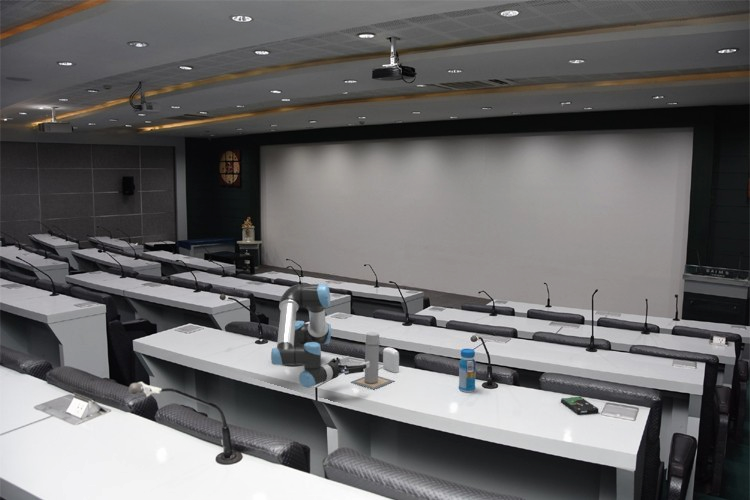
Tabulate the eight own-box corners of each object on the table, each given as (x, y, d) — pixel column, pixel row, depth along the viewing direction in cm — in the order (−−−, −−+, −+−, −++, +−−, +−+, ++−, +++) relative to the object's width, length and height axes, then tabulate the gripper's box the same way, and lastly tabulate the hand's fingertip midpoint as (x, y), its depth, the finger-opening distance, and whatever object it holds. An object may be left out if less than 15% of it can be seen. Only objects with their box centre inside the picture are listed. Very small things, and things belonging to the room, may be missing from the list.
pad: (350, 382, 281) (350, 381, 281) (371, 374, 293) (371, 373, 293) (374, 390, 271) (374, 389, 271) (394, 381, 283) (394, 380, 283)
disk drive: (598, 414, 244) (580, 401, 258) (599, 408, 244) (580, 396, 258) (577, 416, 242) (560, 403, 256) (578, 410, 241) (560, 397, 256)
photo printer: (381, 368, 304) (382, 346, 302) (387, 367, 307) (387, 345, 305) (394, 373, 296) (394, 351, 295) (400, 371, 299) (400, 349, 297)
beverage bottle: (455, 390, 270) (456, 351, 268) (461, 385, 278) (462, 346, 276) (472, 393, 267) (473, 353, 264) (477, 388, 274) (478, 349, 272)
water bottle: (376, 384, 277) (378, 336, 274) (361, 382, 279) (363, 334, 276) (381, 378, 286) (382, 331, 283) (366, 377, 288) (368, 330, 285)
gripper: (310, 373, 265) (340, 363, 281) (347, 385, 249) (377, 374, 265) (309, 358, 264) (340, 349, 280) (347, 369, 248) (377, 359, 264)
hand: (358, 361), depth 273 cm, fingers open, 13 cm apart
